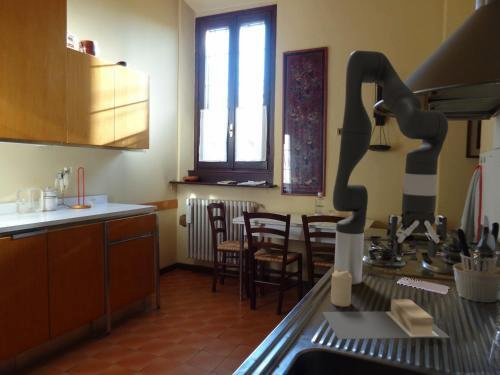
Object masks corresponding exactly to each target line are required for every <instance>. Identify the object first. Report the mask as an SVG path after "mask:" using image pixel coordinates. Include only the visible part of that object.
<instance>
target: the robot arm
mask: <svg viewBox="0 0 500 375" xmlns="http://www.w3.org/2000/svg"><path fill="white" fill-rule="evenodd" d="M345 70H346V71H345V97H344V98H345V99H344V102H345V103H344V112H343V120H342V127H341V128H342V129H341V135H340V142H339V144H340V146H339V155H338V156H339V157H338V166H337V171H336V176H335V181H334V187H333V193H332V205H333V208H334V210H335V211H337V212H342V213H344V212H345V213H348V212H350V213H351V212H352V213H351V215H349V216H348V217H346V218H344V219H342V220H338V221H337V222H336V227H335V246H334V247H335V250H334V268H333V269H334V270H333V271H334V272H335V271H336V270H337V269H339V270H344V269H345V270H346V271H348V272H349V274H350V275H351V276H352V283H351V286H352V285H358V284H361V283H362V276H363V262H364V261H363V258H364V242H365V241H364V240H365V239H364V238H365V226H366V222H367V221H366V220H367V212H368V211H367V210H368V204H369V201H368V200H369V197H368V196H369V193H368V189H367V187H366V186H365V185H363V184H349V181H350V177H351V174H352V173H353V171H354V169H355V168H356V166H357V165H358V164H360V162H361V160H362V159H363V157H364V156H365V155H366V154H367V152H368V150H369V149H370V145H371V140H372V131H373V125H372V121H371V118H370V116H369V115H368V112H367V110H366V107H365V105H364V102H363V98H362V96H363V95H362V92H363V91H362V86H363V83H364V84H374V83H375V84H377V85H378V86H380V87H381V88H382V90H381V91H382V92H381V98H382V101H383V103H384V105H385V107H386V108H387V109H388V110H389V111H390V112H391V113H392V114H393V115H394V117H395V120H396V122H397V126H398V129H399V130H400V133H401V134H402V135H403V136H404V137H406V138H407V139H411V140H421V143H420V145H419V147H418V148H417V149H416V148H415V149H412V150H409V151H408V152H407V153H406V157H405V169H404V170H405V171H404V178H403V185H402V198H401V215H394V214H389V215H388V221H387V226H386V227H387V228H386V229H387V230H386V235H385V237H386V238H388V240H389V239H390V240H391V241H393V248H392V249H393V250H392V251H393V254H394V255H395V256H396V257H397V258H402V257H403V246H404V245H403V244H404V242H403V241H404V240H405V239H406V237H409V236H410V235H411V234H421V235H422V234H423V235H424V234H425V235H426V237H427V238H428V239H429V240H428V241H427V254H426V255H427V256H428V257H429V258H435V257H436V256H437V255H438V249H439V248H438V245H439V243H440V242H442V241H446V240H447V237H448V236H447V233H448V232H447V231H448V230H447V229H448V227H447V226H448V218H447V217H446V216H444V215H440V214H438V215H436V216H435V213H436V206H437V192H438V191H437V190H438V176H437V175H438V165H439V164H438V162H439V157H440V154H441V152H442V149H443V146H444V142H445V140H446V138H447V135H448V132H449V121H448V118H447V116H446V114H445V113H443V112H442V111H439V110H428V109H427V110H426V109H422V108H423V102H422V100H421V99H420V97H419V96H418V95H417V94H416V93H414V91H412V89H410V87H408V86H407V85H406V84H405V83H404V82H403V80H402V79H401V78H400V76H399V74H398V72H397V70H395V68H394V67H393V65H392V63H391V61H390V60H389V58H388V57H387V56H386V55H385V54H384V52H380V51H373V50H360V49H359V50H354V51H353V52H351V53H350V55H349V57H348V60H347V64H346V69H345ZM400 222H401V226H400V227H399V228H398V225H399V224H400ZM434 224H435V227H436V229H434V228H433V225H434ZM435 230H436V231H435ZM334 272H333V273H334Z"/></svg>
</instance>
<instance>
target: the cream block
mask: <svg viewBox="0 0 500 375" xmlns="http://www.w3.org/2000/svg"><path fill="white" fill-rule="evenodd" d="M390 311H391V314H392V315H393V316H394V317H395V318H396V319H397V320H398V321H399V322H400V323H401V324H402V325H403V326H404V327H405V328H406V329H407V330H408V331H409V332H410V333H411V334H432V328H433V324H434V317H433V316H432V315H430V314H429V313H428V312H427V311H425V310H424V309H422V307H420V306H419V305H417V304H416V303H415V302H414V301H412V300H411V299H410V298H391V303H390Z"/></svg>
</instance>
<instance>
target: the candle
mask: <svg viewBox="0 0 500 375" xmlns="http://www.w3.org/2000/svg"><path fill="white" fill-rule="evenodd" d="M351 283H352V276H351V275H350V274H349V272H348V271H346V270H345V269H344V270H339V269H337V270H336V271H335V272H332V274H331V286H330V287H331V288H330V289H331V291H330V293H331V294H330V302H331V303H332V305H333V306H338V307H349V306H350V305H351V300H352V284H351Z"/></svg>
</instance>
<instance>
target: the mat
mask: <svg viewBox="0 0 500 375" xmlns="http://www.w3.org/2000/svg"><path fill="white" fill-rule="evenodd" d="M321 313H322V314H323V316H324V317H325V320H326V321H327V323H328V325H329V326H330V328H331V329H332V331H333V332H334V334H335V337H336V338H337V339H338V340H357V339H359V340H360V339H361V340H365V339H366V340H367V339H369V340H370V339H372V340H373V339H379V340H381V339H382V340H383V339H450V338H451V336H449V335H448V334H447V333H445V331H444V330H442V329H440V328H439V327H438V326H437V325H436V324H435V323H433V328H432V334H411V333H410V332H409V331H408V330H407V329H406V328H405V327H404V326H403V325H402V324H401V323H400V322H399V321H398V320H397V319H396V318H395V317H394V316H393V315H392V314H391V310H389V311H388V310H387V311H322V312H321Z"/></svg>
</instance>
